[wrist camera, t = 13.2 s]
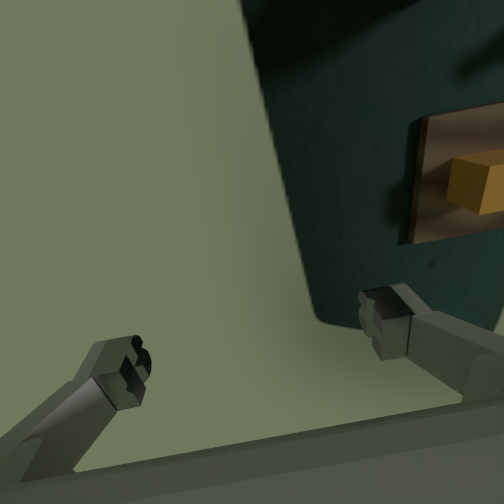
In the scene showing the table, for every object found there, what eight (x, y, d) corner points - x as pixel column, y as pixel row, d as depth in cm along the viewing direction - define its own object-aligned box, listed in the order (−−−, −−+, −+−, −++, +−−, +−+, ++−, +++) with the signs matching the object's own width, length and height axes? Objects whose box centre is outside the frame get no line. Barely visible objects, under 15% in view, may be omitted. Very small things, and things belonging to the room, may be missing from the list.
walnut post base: (421, 116, 36) (451, 118, 31) (530, 95, 35) (577, 94, 31) (408, 239, 44) (429, 256, 39) (495, 223, 44) (528, 238, 39)
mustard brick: (453, 157, 37) (490, 166, 32) (497, 149, 37) (542, 156, 32) (445, 200, 40) (478, 215, 35) (487, 192, 40) (526, 206, 34)
